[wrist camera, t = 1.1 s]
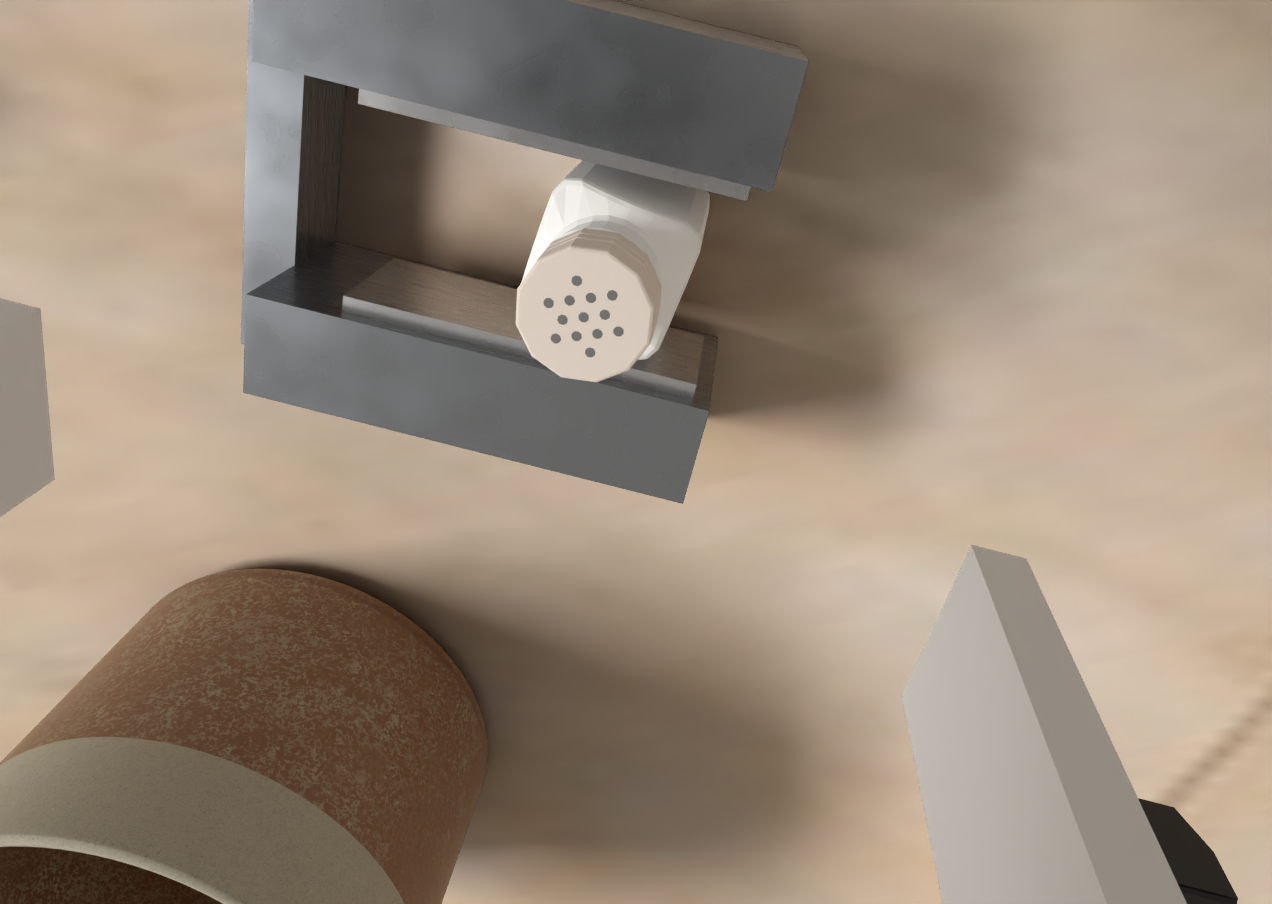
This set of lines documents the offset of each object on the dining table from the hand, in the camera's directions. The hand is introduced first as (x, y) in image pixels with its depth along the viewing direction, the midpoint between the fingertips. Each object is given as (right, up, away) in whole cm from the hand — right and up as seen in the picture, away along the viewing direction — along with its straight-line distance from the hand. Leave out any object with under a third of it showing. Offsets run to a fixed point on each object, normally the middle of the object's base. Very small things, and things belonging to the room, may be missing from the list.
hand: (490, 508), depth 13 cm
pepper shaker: (+2, +8, +16) cm, 18 cm away
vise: (-2, +9, +16) cm, 19 cm away
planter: (-12, -10, +27) cm, 32 cm away
